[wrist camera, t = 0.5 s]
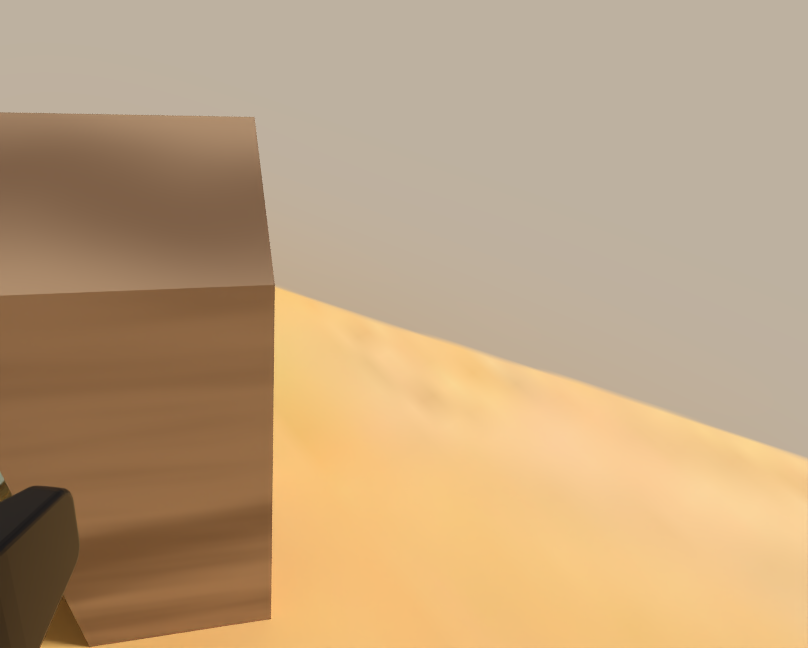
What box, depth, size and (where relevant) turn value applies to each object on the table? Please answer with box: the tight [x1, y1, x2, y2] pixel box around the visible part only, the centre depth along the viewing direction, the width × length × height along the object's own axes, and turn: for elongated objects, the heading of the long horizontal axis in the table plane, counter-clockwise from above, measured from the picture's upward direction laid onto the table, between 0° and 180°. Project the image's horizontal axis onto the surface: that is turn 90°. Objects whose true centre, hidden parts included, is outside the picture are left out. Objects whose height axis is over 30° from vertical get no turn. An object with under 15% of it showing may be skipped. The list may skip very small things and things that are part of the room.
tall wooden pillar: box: [0, 113, 275, 647], centre depth 19 cm, size 6×6×15 cm
